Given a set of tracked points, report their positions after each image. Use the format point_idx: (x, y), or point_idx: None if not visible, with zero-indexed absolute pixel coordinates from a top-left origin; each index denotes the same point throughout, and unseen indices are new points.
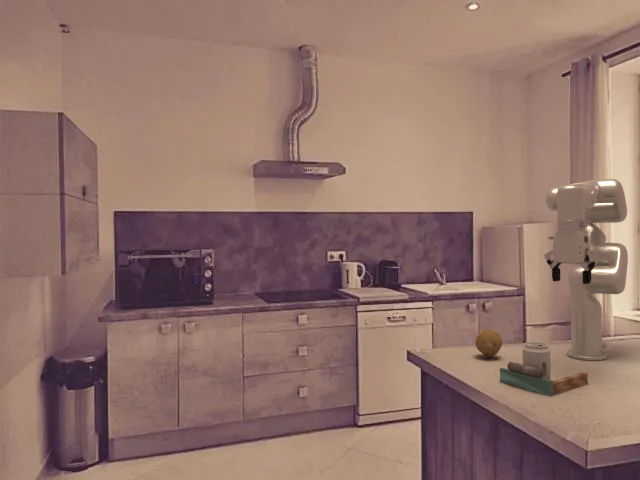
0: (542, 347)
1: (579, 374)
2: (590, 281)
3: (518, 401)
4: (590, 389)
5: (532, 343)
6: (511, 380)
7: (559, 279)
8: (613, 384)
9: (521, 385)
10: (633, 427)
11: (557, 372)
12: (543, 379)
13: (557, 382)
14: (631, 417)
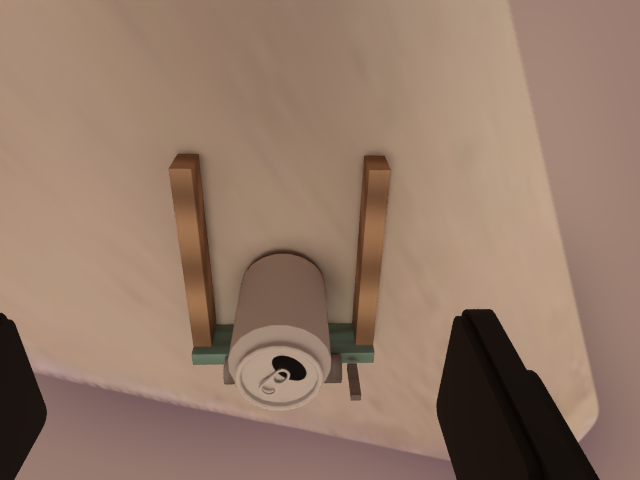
0: (317, 387)
1: (377, 204)
2: (496, 318)
3: (338, 406)
4: (418, 204)
5: (264, 383)
6: None
7: (7, 342)
8: (452, 89)
9: None
10: (587, 365)
11: (231, 105)
12: (351, 362)
13: (374, 325)
14: (573, 321)
